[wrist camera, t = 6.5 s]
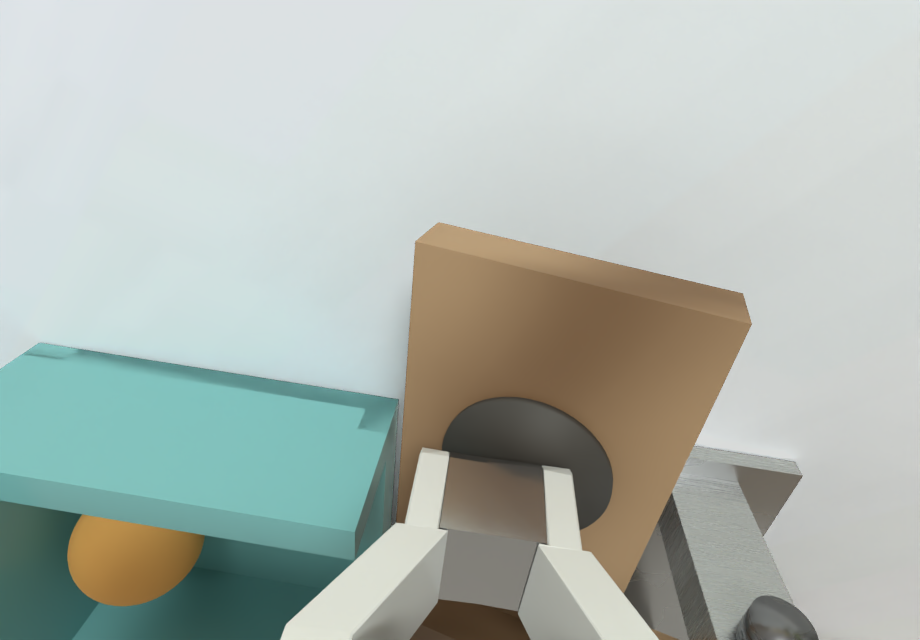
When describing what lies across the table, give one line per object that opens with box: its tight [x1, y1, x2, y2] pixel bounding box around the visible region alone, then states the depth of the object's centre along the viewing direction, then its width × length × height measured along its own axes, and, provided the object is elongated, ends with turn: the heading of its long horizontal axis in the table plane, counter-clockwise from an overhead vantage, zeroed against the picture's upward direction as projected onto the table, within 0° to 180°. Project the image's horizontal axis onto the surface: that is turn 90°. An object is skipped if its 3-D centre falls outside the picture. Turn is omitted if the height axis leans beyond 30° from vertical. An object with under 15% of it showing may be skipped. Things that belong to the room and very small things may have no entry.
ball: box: [67, 514, 205, 606], centre depth 16 cm, size 4×4×4 cm
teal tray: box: [0, 343, 399, 640], centre depth 15 cm, size 11×10×6 cm
